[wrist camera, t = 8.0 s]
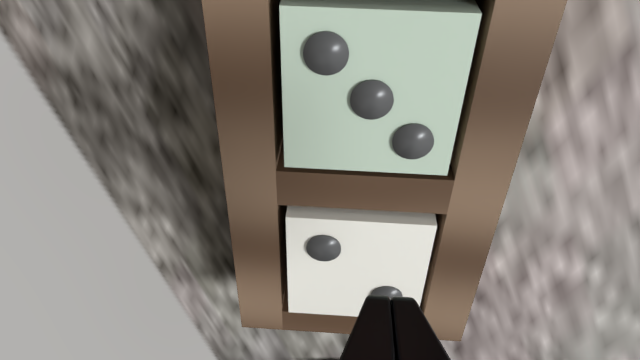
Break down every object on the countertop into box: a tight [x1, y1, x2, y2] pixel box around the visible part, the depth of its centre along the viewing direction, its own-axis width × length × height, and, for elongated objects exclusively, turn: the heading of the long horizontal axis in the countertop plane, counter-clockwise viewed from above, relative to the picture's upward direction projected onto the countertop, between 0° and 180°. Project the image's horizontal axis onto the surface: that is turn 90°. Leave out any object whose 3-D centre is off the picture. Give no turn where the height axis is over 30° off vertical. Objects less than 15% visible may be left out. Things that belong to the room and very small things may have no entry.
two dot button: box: [286, 205, 437, 317], centre depth 19 cm, size 5×5×3 cm
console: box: [202, 0, 567, 341], centre depth 15 cm, size 22×9×3 cm, turn 179°
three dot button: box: [279, 0, 482, 176], centre depth 15 cm, size 5×5×3 cm
